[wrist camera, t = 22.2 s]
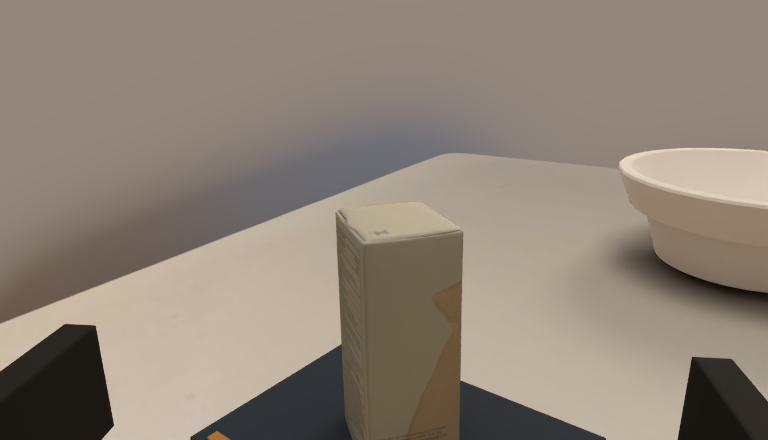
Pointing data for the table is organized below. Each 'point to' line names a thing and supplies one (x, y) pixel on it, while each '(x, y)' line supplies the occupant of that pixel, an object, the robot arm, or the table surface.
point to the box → (400, 321)
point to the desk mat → (328, 423)
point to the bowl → (705, 211)
